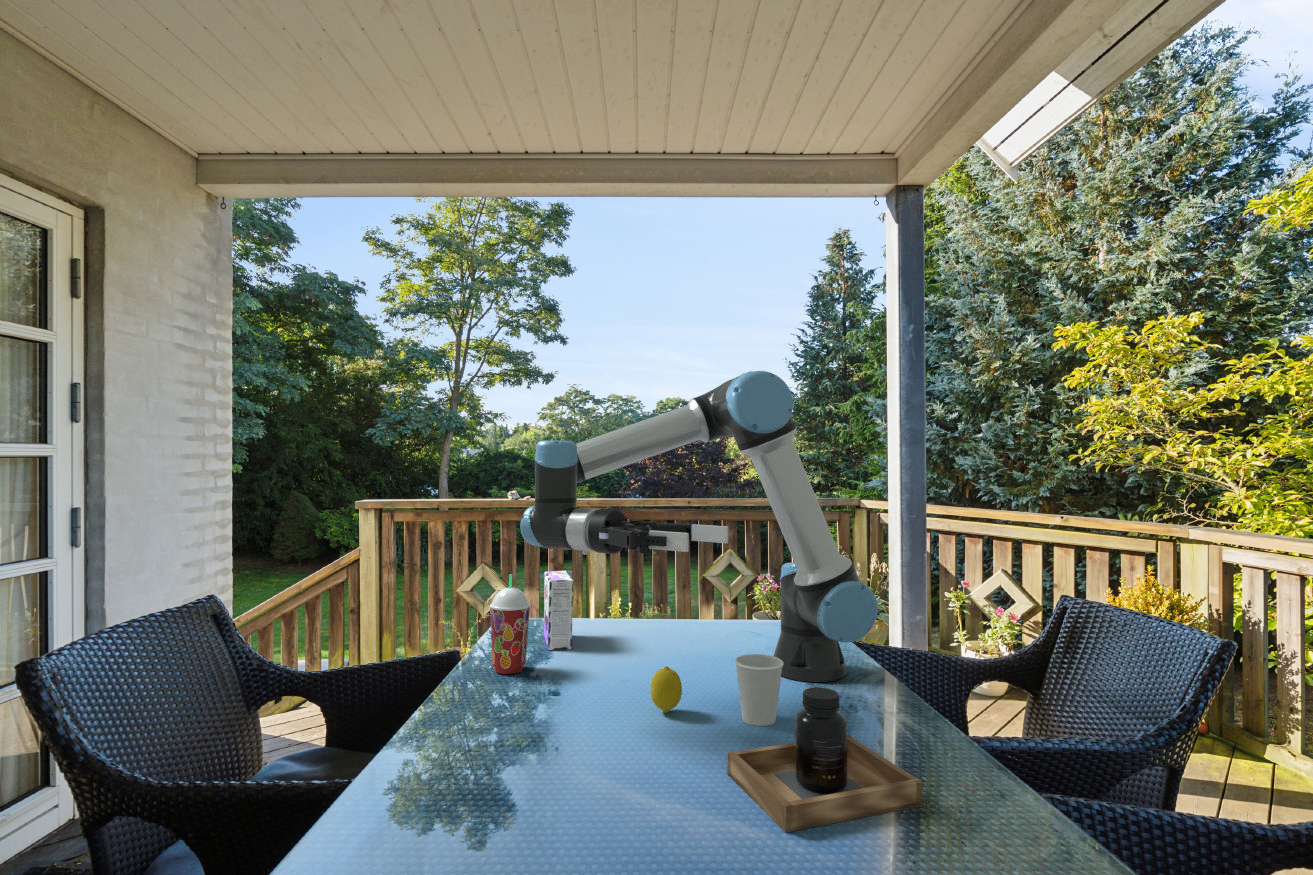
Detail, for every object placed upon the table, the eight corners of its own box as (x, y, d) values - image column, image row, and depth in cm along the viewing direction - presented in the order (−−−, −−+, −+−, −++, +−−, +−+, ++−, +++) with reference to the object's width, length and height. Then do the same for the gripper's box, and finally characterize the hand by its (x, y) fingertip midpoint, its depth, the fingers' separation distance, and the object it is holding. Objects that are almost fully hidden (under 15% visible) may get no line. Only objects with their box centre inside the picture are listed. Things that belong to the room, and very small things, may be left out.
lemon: (678, 719, 116) (679, 672, 116) (647, 716, 117) (647, 669, 117) (684, 708, 121) (684, 662, 121) (653, 705, 122) (654, 660, 122)
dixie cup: (740, 708, 121) (740, 651, 122) (787, 714, 118) (787, 656, 119) (729, 724, 113) (729, 664, 114) (779, 731, 111) (779, 669, 111)
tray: (848, 754, 102) (848, 734, 102) (922, 805, 87) (922, 781, 87) (727, 774, 95) (727, 752, 95) (785, 832, 80) (785, 806, 80)
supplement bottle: (789, 771, 94) (789, 684, 95) (837, 770, 95) (837, 683, 95) (804, 795, 88) (803, 701, 88) (855, 794, 88) (855, 700, 89)
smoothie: (536, 666, 145) (537, 572, 146) (516, 678, 137) (517, 578, 138) (502, 662, 148) (504, 570, 148) (480, 673, 140) (482, 576, 141)
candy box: (542, 636, 171) (544, 570, 172) (566, 635, 172) (567, 569, 173) (547, 650, 157) (548, 579, 158) (572, 649, 159) (573, 578, 160)
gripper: (638, 545, 127) (741, 554, 116) (551, 560, 106) (667, 573, 95) (638, 505, 128) (741, 510, 117) (551, 512, 106) (668, 519, 95)
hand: (708, 538), depth 106 cm, fingers open, 13 cm apart
